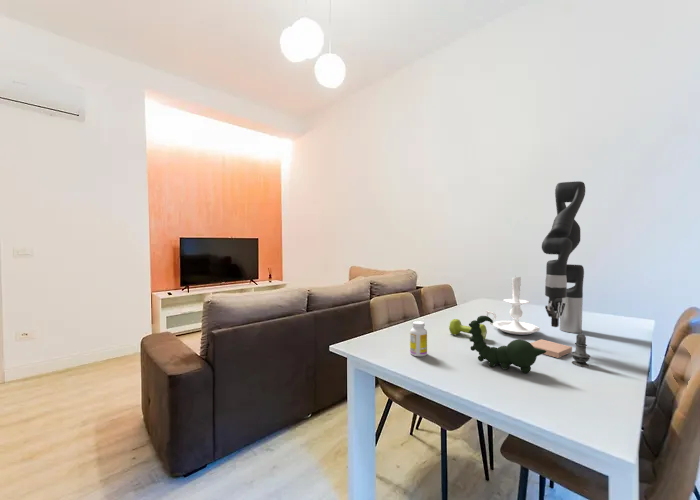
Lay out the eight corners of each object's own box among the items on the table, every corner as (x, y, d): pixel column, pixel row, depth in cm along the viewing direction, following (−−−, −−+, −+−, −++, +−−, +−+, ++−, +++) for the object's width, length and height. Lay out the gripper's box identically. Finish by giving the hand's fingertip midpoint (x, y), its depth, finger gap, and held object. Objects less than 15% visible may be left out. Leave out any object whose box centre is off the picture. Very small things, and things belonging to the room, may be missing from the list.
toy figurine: (468, 367, 120) (545, 381, 104) (464, 317, 120) (540, 322, 104) (477, 360, 127) (550, 371, 111) (473, 312, 128) (546, 316, 111)
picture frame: (541, 339, 141) (526, 344, 134) (572, 346, 131) (558, 352, 124) (540, 344, 141) (526, 349, 134) (571, 352, 131) (558, 358, 124)
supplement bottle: (427, 352, 132) (428, 321, 131) (426, 358, 125) (426, 325, 125) (411, 350, 134) (411, 319, 133) (408, 356, 128) (409, 323, 127)
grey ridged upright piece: (593, 367, 116) (594, 334, 115) (575, 366, 117) (576, 333, 116) (585, 361, 122) (586, 330, 121) (567, 360, 123) (568, 329, 122)
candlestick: (491, 323, 176) (492, 272, 175) (543, 331, 160) (545, 275, 159) (478, 331, 161) (479, 275, 160) (534, 341, 145) (535, 279, 144)
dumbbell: (447, 335, 155) (447, 320, 155) (455, 331, 161) (456, 317, 161) (480, 343, 143) (480, 327, 143) (488, 339, 149) (488, 324, 148)
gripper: (553, 283, 141) (552, 322, 142) (538, 285, 134) (537, 327, 134) (573, 285, 135) (572, 326, 136) (558, 288, 127) (557, 331, 128)
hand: (554, 326), depth 135 cm, fingers closed
